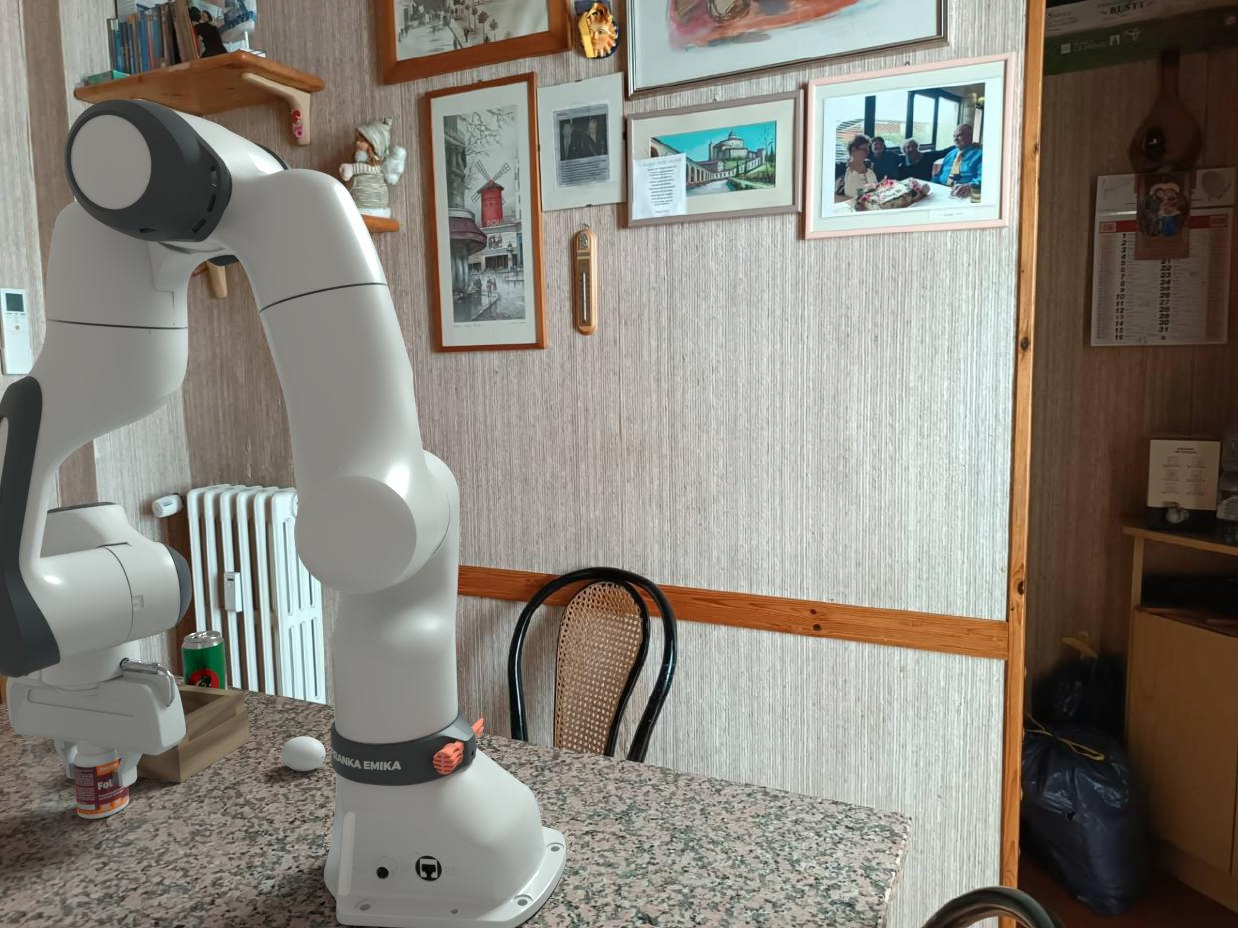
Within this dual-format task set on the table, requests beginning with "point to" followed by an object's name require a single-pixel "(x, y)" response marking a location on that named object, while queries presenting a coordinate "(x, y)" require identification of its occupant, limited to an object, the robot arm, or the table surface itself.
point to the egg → (303, 753)
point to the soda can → (204, 660)
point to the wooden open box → (201, 734)
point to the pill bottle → (97, 781)
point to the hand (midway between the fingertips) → (102, 779)
